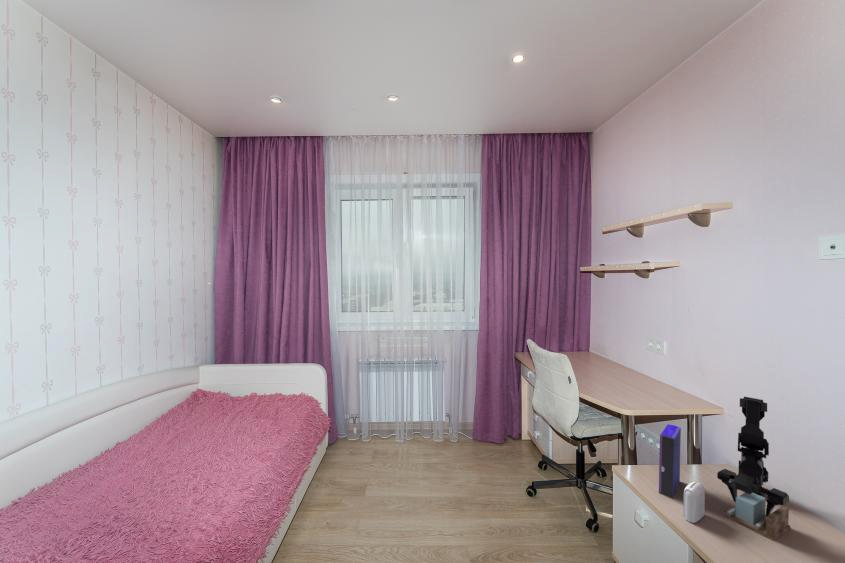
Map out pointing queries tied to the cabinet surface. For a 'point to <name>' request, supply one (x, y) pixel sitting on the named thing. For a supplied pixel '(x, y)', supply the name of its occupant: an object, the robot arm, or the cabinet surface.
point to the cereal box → (669, 460)
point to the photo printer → (694, 502)
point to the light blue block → (750, 507)
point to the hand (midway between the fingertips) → (750, 508)
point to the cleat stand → (765, 522)
